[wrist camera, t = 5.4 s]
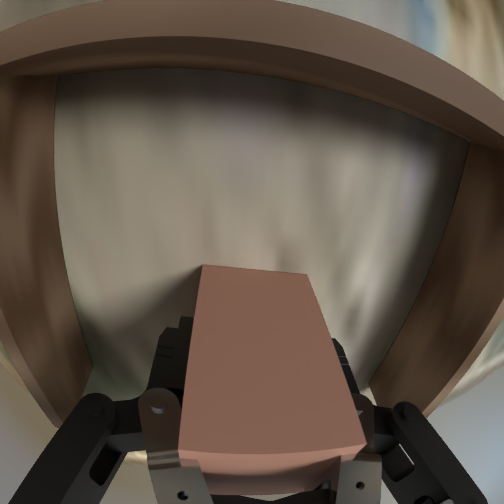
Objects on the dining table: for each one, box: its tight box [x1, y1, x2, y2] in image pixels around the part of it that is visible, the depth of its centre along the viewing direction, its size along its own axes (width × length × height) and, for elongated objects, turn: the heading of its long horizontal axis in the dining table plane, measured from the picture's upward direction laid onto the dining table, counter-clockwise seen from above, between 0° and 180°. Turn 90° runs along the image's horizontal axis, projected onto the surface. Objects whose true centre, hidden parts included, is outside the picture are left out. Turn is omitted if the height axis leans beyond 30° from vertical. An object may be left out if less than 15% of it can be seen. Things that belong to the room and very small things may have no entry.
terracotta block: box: [178, 265, 367, 495], centre depth 10 cm, size 4×4×8 cm
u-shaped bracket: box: [0, 0, 504, 428], centre depth 10 cm, size 17×20×5 cm
